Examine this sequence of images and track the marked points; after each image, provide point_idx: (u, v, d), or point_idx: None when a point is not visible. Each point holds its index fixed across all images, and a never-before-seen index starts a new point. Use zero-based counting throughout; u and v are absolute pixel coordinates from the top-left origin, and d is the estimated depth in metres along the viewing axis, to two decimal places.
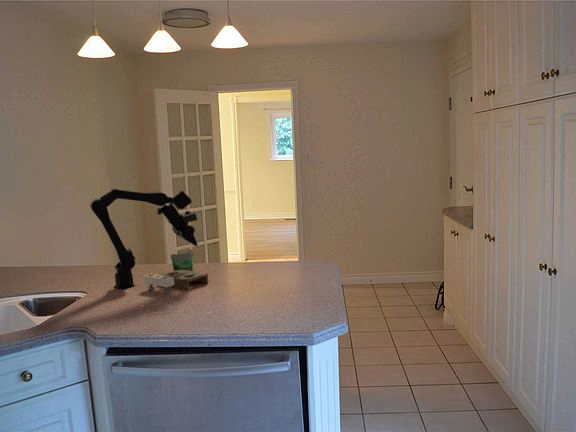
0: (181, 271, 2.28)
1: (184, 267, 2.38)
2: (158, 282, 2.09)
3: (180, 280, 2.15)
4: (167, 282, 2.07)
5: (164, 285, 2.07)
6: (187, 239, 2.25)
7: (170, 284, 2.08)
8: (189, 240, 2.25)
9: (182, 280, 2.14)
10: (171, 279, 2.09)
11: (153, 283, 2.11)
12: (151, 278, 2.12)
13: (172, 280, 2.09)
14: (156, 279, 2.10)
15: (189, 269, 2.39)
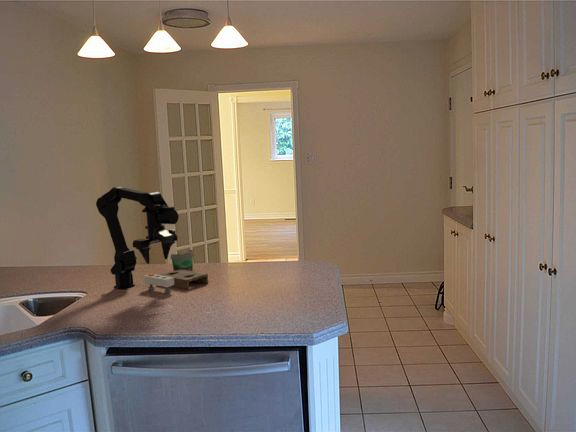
0: (181, 271, 2.28)
1: (184, 267, 2.38)
2: (158, 282, 2.09)
3: (180, 280, 2.15)
4: (167, 282, 2.07)
5: (164, 285, 2.07)
6: (140, 251, 2.07)
7: (170, 284, 2.08)
8: (142, 253, 2.07)
9: (182, 280, 2.14)
10: (171, 279, 2.09)
11: (153, 283, 2.11)
12: (151, 278, 2.12)
13: (172, 280, 2.09)
14: (156, 279, 2.10)
15: (189, 269, 2.39)
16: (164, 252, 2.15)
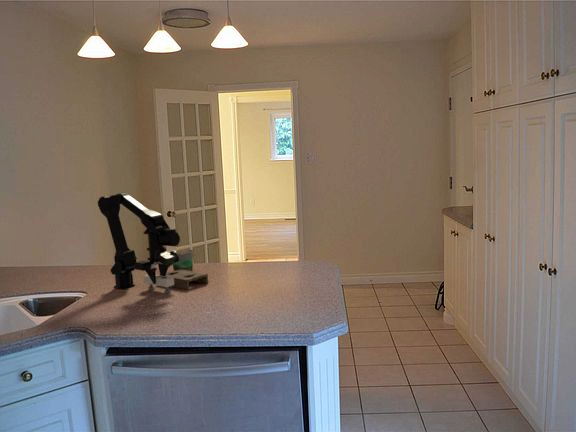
0: (181, 271, 2.28)
1: (184, 267, 2.38)
2: (158, 282, 2.09)
3: (180, 280, 2.15)
4: (167, 282, 2.07)
5: (164, 285, 2.07)
6: (147, 271, 2.10)
7: (170, 284, 2.08)
8: (148, 274, 2.10)
9: (182, 280, 2.14)
10: (171, 279, 2.09)
11: None
12: None
13: (172, 280, 2.09)
14: (156, 279, 2.10)
15: (189, 269, 2.39)
16: (161, 274, 2.14)
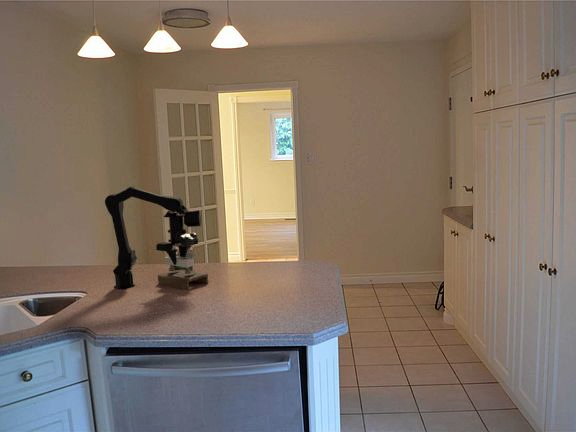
0: (181, 271, 2.28)
1: (184, 267, 2.38)
2: (179, 263, 2.18)
3: (180, 280, 2.15)
4: (187, 263, 2.15)
5: (184, 266, 2.16)
6: (168, 252, 2.18)
7: (190, 265, 2.17)
8: (169, 255, 2.18)
9: (182, 280, 2.14)
10: (191, 260, 2.17)
11: None
12: None
13: (192, 261, 2.17)
14: (177, 260, 2.18)
15: (189, 269, 2.39)
16: (181, 256, 2.23)
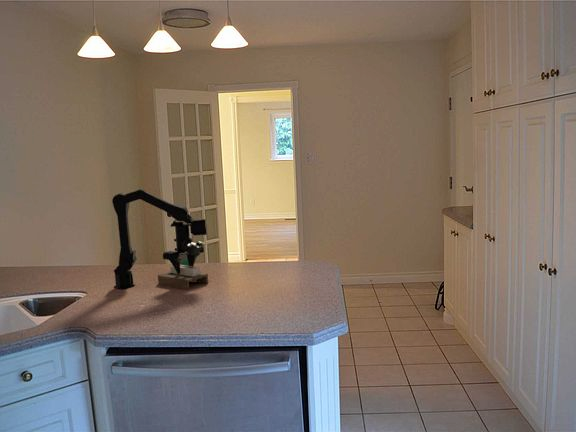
0: None
1: None
2: (185, 271, 2.21)
3: (180, 280, 2.15)
4: (194, 272, 2.18)
5: (191, 275, 2.19)
6: (171, 262, 2.20)
7: (196, 274, 2.20)
8: (173, 264, 2.20)
9: (182, 280, 2.14)
10: (197, 269, 2.20)
11: (180, 273, 2.23)
12: None
13: (198, 270, 2.20)
14: (183, 269, 2.21)
15: None
16: (189, 263, 2.27)
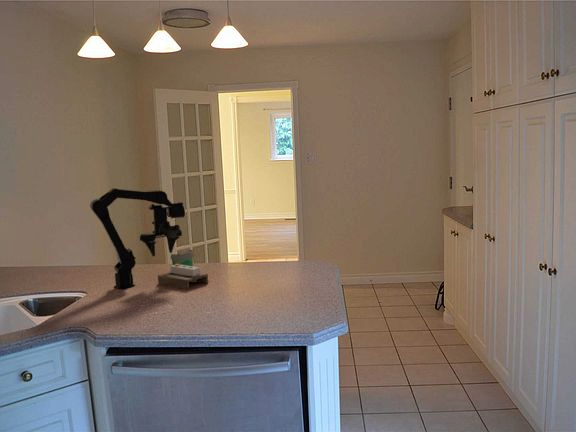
0: None
1: None
2: (185, 271, 2.21)
3: (180, 280, 2.15)
4: (194, 272, 2.18)
5: (191, 275, 2.19)
6: (147, 244, 2.23)
7: (196, 274, 2.20)
8: (148, 246, 2.24)
9: (182, 280, 2.14)
10: (197, 269, 2.20)
11: (180, 273, 2.23)
12: (178, 268, 2.23)
13: (198, 270, 2.20)
14: (183, 269, 2.21)
15: None
16: (169, 246, 2.31)
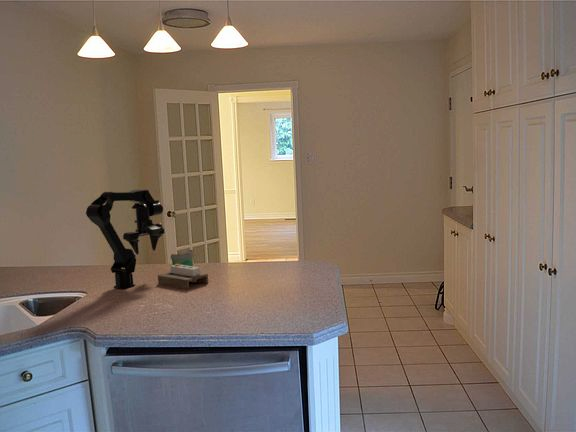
0: None
1: None
2: (185, 271, 2.21)
3: (180, 280, 2.15)
4: (194, 272, 2.18)
5: (191, 275, 2.19)
6: (130, 243, 2.28)
7: (196, 274, 2.20)
8: (132, 245, 2.28)
9: (182, 280, 2.14)
10: (197, 269, 2.20)
11: (180, 273, 2.23)
12: (178, 268, 2.23)
13: (198, 270, 2.20)
14: (183, 269, 2.21)
15: None
16: (152, 244, 2.36)
